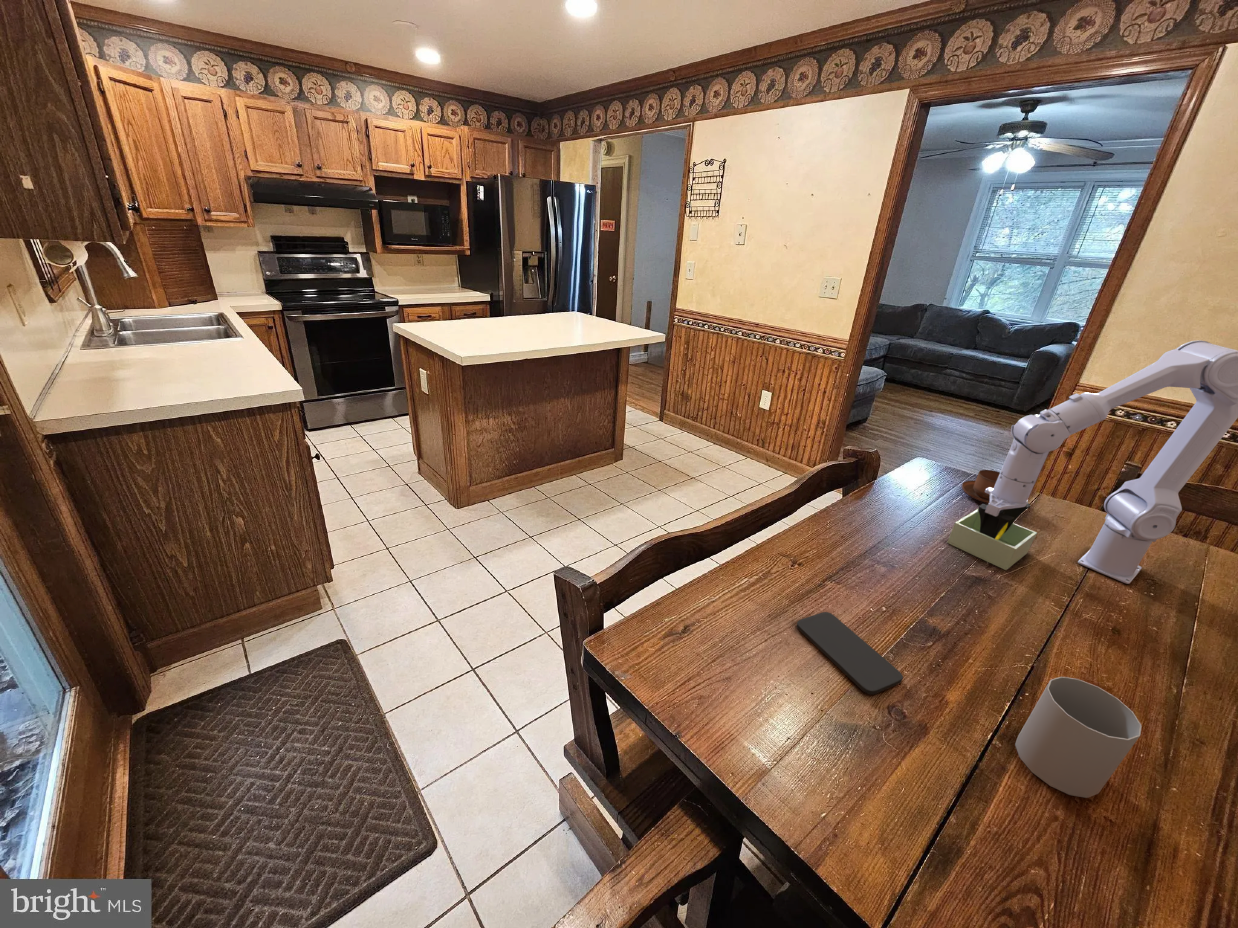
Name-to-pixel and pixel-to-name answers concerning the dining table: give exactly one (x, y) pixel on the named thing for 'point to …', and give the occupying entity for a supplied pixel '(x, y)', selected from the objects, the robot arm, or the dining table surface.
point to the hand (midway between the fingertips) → (992, 535)
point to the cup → (1077, 736)
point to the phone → (850, 653)
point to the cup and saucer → (981, 485)
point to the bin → (991, 541)
